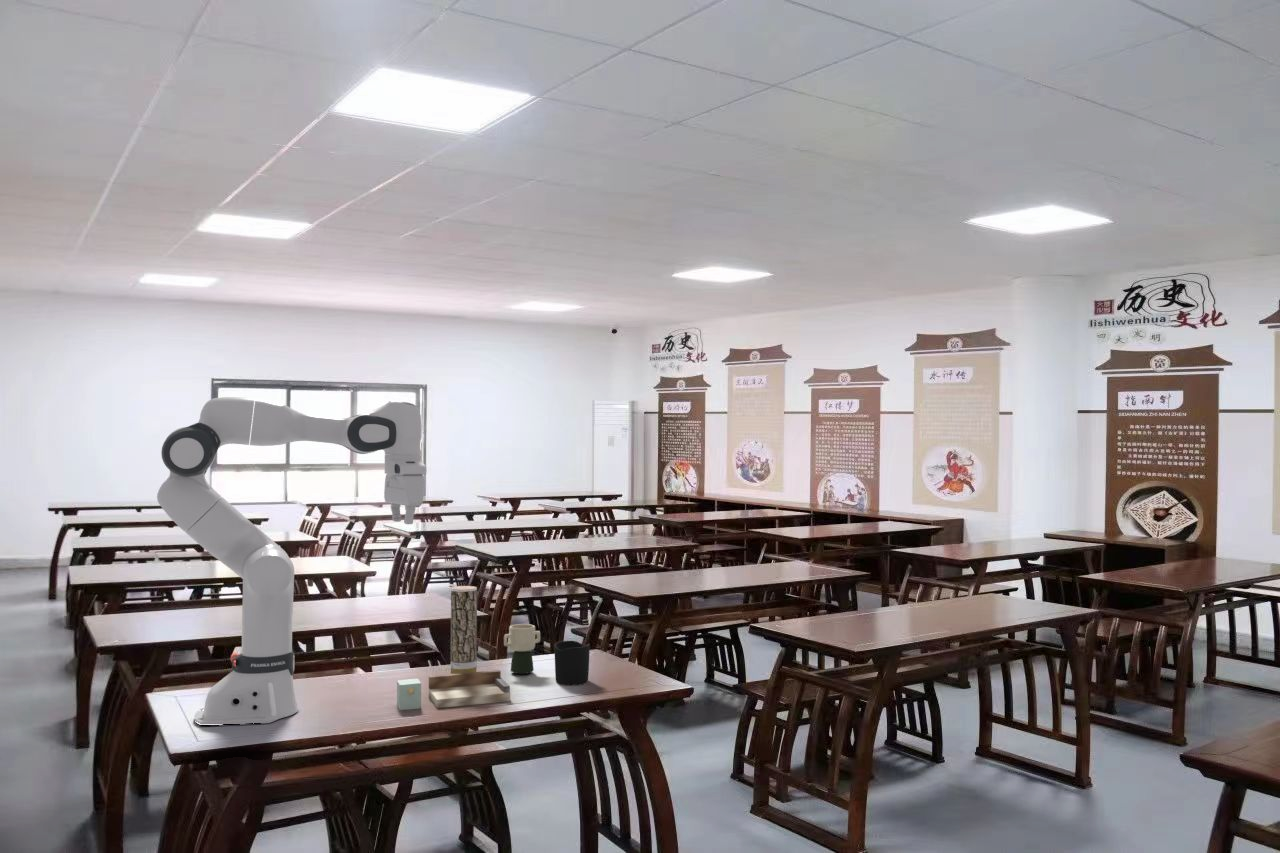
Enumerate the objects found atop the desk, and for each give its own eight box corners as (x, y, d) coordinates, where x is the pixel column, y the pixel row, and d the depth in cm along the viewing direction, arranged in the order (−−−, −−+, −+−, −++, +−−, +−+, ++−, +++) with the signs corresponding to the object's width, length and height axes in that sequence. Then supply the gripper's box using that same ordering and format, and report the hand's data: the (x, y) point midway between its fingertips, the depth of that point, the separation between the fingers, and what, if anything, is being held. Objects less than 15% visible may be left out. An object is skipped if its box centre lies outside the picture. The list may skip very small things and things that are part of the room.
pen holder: (588, 677, 263) (588, 640, 263) (591, 685, 253) (591, 647, 254) (553, 678, 262) (553, 641, 262) (555, 686, 252) (555, 648, 252)
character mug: (534, 668, 273) (534, 622, 273) (545, 673, 267) (545, 626, 267) (498, 673, 267) (498, 625, 267) (508, 678, 261) (509, 630, 261)
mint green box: (400, 712, 228) (400, 686, 228) (396, 705, 234) (397, 680, 234) (422, 709, 230) (422, 684, 230) (417, 703, 236) (417, 678, 236)
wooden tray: (436, 708, 231) (436, 687, 232) (428, 695, 243) (428, 675, 243) (510, 700, 238) (510, 680, 238) (499, 689, 249) (499, 669, 249)
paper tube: (464, 686, 252) (465, 590, 253) (445, 683, 256) (445, 588, 256) (481, 681, 258) (482, 587, 258) (462, 677, 262) (463, 585, 262)
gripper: (378, 465, 246) (377, 520, 245) (403, 467, 228) (402, 526, 228) (402, 465, 249) (402, 519, 249) (429, 467, 231) (428, 525, 231)
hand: (402, 522), depth 238 cm, fingers open, 8 cm apart
